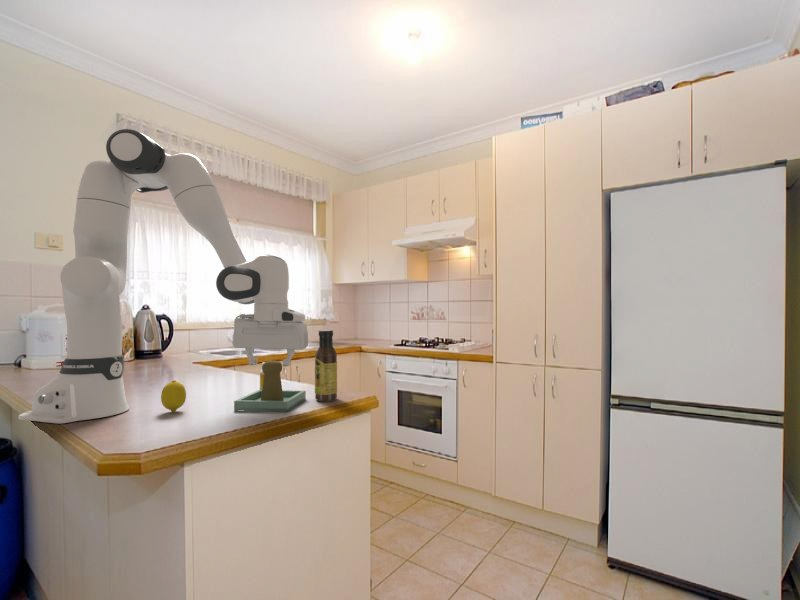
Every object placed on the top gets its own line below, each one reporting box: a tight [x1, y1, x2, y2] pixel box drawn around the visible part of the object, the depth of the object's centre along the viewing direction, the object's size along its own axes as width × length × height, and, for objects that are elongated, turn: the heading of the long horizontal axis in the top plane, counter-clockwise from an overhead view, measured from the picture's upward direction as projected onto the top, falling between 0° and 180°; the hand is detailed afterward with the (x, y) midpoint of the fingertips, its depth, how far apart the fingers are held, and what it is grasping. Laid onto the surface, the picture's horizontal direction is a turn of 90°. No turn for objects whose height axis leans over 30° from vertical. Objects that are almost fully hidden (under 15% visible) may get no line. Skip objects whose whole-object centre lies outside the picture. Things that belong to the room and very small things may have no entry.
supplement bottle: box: [259, 361, 266, 390], centre depth 123 cm, size 5×5×10 cm
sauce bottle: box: [314, 329, 338, 403], centre depth 114 cm, size 6×6×20 cm
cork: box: [261, 360, 284, 401], centre depth 109 cm, size 6×6×11 cm
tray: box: [233, 389, 307, 413], centre depth 108 cm, size 14×14×2 cm
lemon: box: [160, 379, 187, 413], centre depth 102 cm, size 6×6×8 cm
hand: (269, 365), depth 108 cm, fingers open, 8 cm apart
